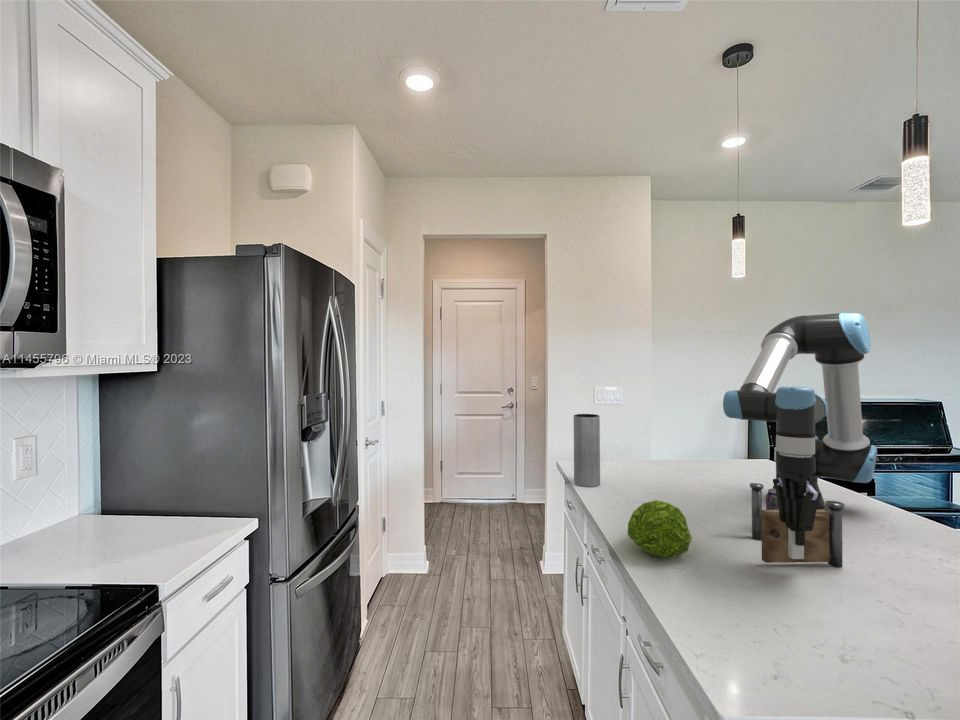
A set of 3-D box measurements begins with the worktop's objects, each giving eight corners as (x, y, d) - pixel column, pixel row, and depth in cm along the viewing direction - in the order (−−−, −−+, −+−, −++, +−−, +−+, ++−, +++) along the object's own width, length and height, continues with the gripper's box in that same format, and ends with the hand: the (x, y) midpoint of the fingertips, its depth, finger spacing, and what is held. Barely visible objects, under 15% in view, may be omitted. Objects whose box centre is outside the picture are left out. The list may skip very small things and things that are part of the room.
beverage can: (800, 539, 131) (800, 495, 131) (771, 537, 132) (771, 494, 132) (789, 530, 138) (789, 488, 138) (762, 528, 139) (762, 487, 139)
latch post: (754, 535, 134) (754, 482, 134) (766, 539, 131) (765, 485, 131) (747, 537, 133) (747, 483, 133) (758, 541, 130) (758, 486, 130)
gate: (824, 559, 116) (823, 509, 116) (832, 564, 113) (832, 513, 113) (761, 559, 116) (761, 509, 116) (768, 564, 113) (768, 513, 113)
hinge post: (830, 560, 117) (830, 500, 117) (847, 566, 114) (847, 504, 114) (822, 563, 116) (822, 502, 116) (839, 569, 113) (839, 506, 112)
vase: (602, 487, 185) (602, 416, 185) (576, 487, 185) (576, 417, 185) (596, 480, 195) (596, 413, 195) (572, 480, 195) (571, 413, 195)
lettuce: (696, 540, 134) (685, 489, 137) (694, 562, 112) (681, 501, 115) (641, 543, 140) (632, 494, 143) (629, 564, 118) (618, 507, 121)
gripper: (833, 459, 104) (834, 569, 104) (792, 449, 117) (792, 546, 117) (799, 460, 104) (800, 570, 103) (761, 449, 116) (762, 547, 116)
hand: (796, 557), depth 110 cm, fingers closed
